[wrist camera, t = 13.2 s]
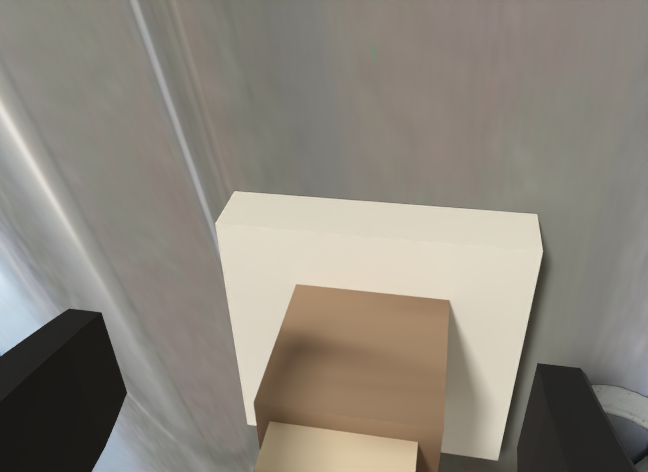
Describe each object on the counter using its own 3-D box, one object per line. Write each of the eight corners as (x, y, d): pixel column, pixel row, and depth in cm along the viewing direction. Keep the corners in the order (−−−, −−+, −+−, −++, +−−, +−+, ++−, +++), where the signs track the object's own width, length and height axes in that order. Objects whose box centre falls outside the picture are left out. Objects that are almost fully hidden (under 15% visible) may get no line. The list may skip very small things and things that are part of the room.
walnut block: (437, 403, 22) (429, 535, 18) (303, 385, 23) (268, 507, 19) (449, 300, 20) (443, 429, 16) (295, 284, 20) (253, 402, 16)
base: (496, 418, 25) (497, 460, 24) (261, 387, 27) (247, 424, 25) (537, 214, 19) (543, 251, 18) (234, 191, 21) (215, 223, 20)
